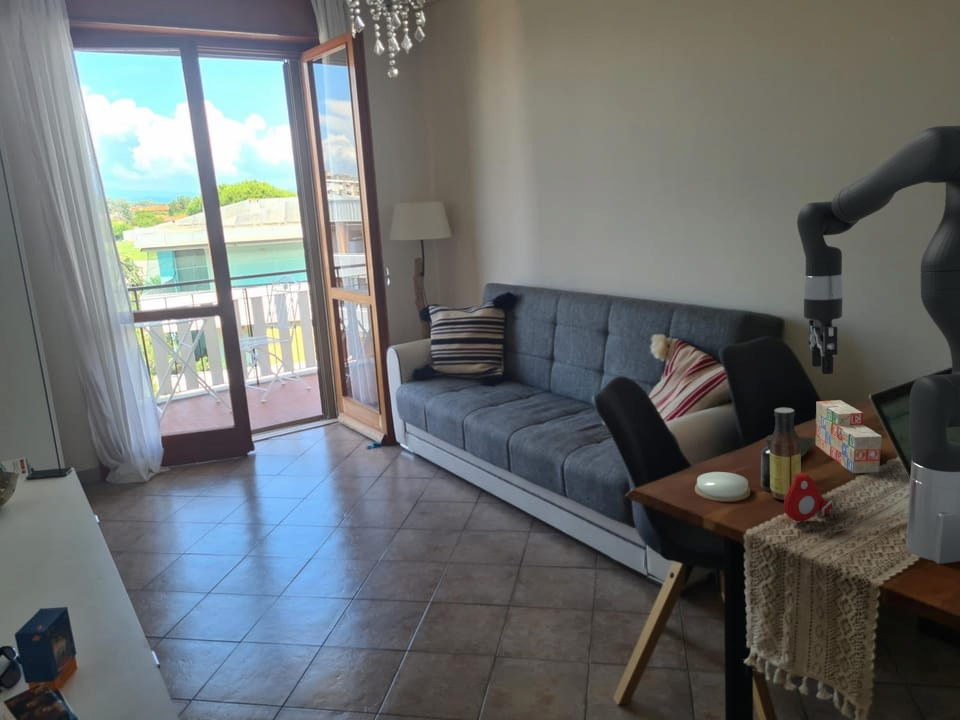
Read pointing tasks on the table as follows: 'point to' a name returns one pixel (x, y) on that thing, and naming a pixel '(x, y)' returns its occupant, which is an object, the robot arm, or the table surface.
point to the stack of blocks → (847, 437)
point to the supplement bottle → (766, 466)
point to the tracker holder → (805, 499)
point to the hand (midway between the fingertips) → (821, 369)
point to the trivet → (722, 486)
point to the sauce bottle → (784, 453)
